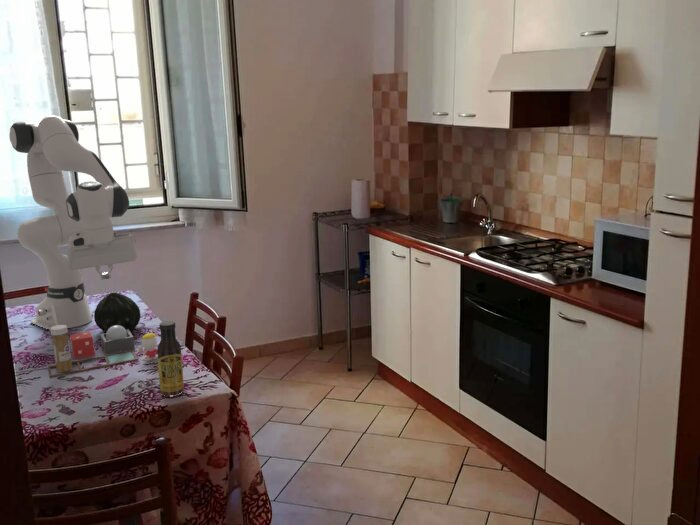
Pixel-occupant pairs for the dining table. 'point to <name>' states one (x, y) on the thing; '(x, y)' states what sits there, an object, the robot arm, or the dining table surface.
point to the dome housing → (118, 343)
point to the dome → (116, 332)
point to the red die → (82, 344)
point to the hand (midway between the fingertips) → (106, 278)
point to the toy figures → (149, 347)
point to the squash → (117, 312)
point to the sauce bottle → (169, 361)
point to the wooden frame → (110, 359)
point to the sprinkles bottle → (61, 348)
